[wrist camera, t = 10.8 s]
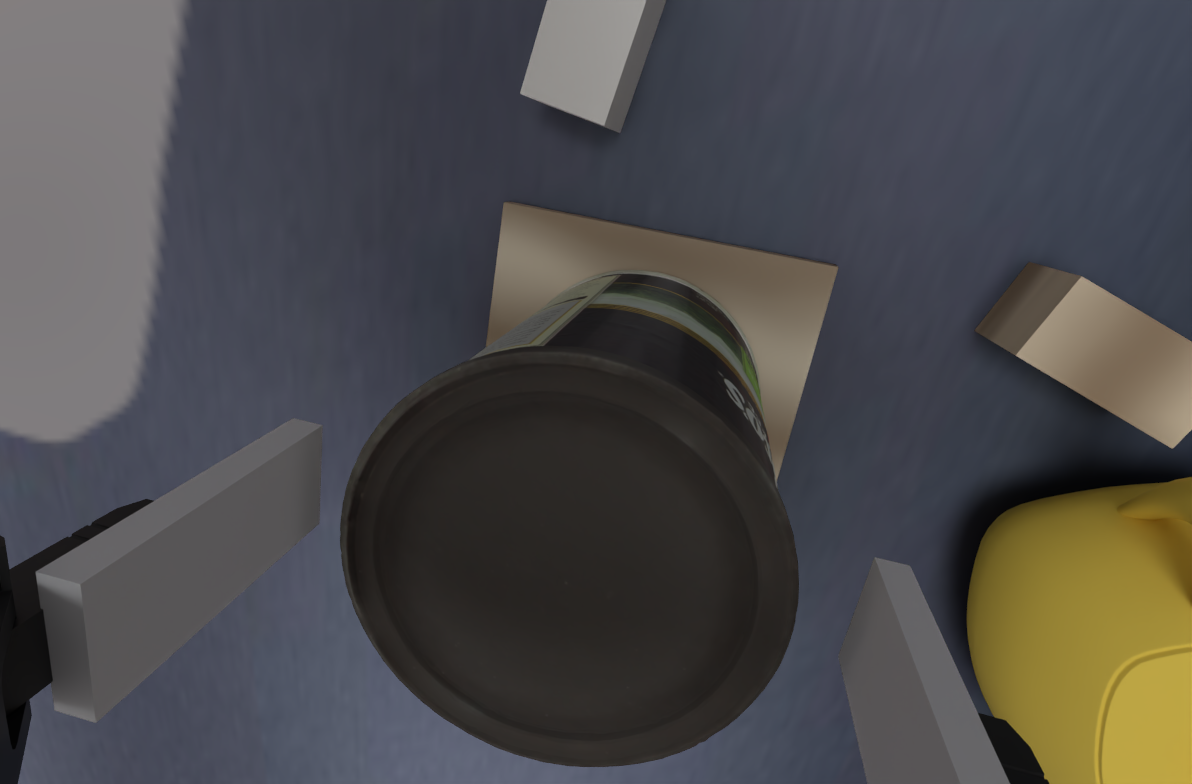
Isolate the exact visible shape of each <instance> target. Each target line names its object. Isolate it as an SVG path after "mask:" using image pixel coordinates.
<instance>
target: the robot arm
mask: <svg viewBox="0 0 1192 784" xmlns="http://www.w3.org/2000/svg"><path fill="white" fill-rule="evenodd" d="M321 455H322V425H319V424H315V423H311V422H307V421H303V420H298V419H294V418H293V419H291V420H289V421H288V422H286V423H284V424H283V425H281V426H279V427H278V428H276V429H274V430H273V431H271V432H269V433H268V434H266V435H264V436H263V437H261V438H259V439H258V440H256V441H254V442H253V443H251V444H249V445H247V446H246V447H244V448H242V449H241V450H239V451H237V452H236V453H234V454H232V455H231V456H229V457H227V458H226V459H224V460H222V461H221V462H219V463H217V464H216V465H214V466H212V467H211V468H209V469H207V470H206V471H204V472H202V473H200V474H199V475H197V476H195V477H194V478H192V479H190V480H189V481H187V482H185V483H184V484H182V485H180V486H179V487H177V488H175V489H174V490H172V491H170V492H169V493H167V494H165V495H164V496H162V497H160V498H159V499H157V500H155V501H152V500H149V499H145V500H142V501H139V502H135V503H132V504H129V505H126V506H123V507H120V508H117V509H115V510H113V511H111V512H109V513H108V514H106V515H104V516H102V517H101V518H99V519H97V520H95V521H94V522H92V524H91V526H88V525H87V526H85V527H83V528H81V529H80V530H78V531H76V532H74V533H73V534H72V536H71V537H66V538H64V539H62V540H60V541H59V542H57V543H55V544H53V545H52V546H50V547H48V548H46V549H45V550H43V551H41V552H39V553H38V554H36V555H34V556H32V557H31V558H29V559H27V560H25V561H24V562H22V563H20V564H18V565H17V566H15V567H13V568H11V569H10V570H9V565H8V558H7V552H6V545H5V539H4V537H2V536H0V784H18V779H19V774H20V770H21V765H22V760H23V755H24V750H25V745H26V740H27V735H28V731H29V726H30V721H31V716H32V715H31V708H30V701H29V699H30V698H32V697H33V696H34V695H35V694H37V693H38V692H39V691H41V690H42V689H43V688H44V687H46V686H47V685H48V684H50V683H51V687H52V694H53V702H54V709H55V711H58V712H61V713H65V714H68V715H71V716H75V717H78V718H81V719H85V720H88V721H91V722H95V723H96V722H97V721H99V720H100V719H101V718H102V717H103V716H104V715H105V714H106V713H108V712H109V711H110V710H111V709H112V708H113V707H114V706H115V705H116V704H118V703H119V702H120V701H121V700H122V699H123V698H124V697H125V696H127V695H128V694H129V693H130V692H131V691H132V690H133V689H134V688H135V687H137V686H138V685H139V684H140V683H141V682H142V681H143V680H144V679H146V678H147V677H148V676H149V675H150V674H151V673H152V672H153V671H155V670H156V669H157V668H158V667H159V666H160V665H161V664H162V663H163V662H165V661H166V660H167V659H168V658H169V657H170V656H171V655H172V654H174V653H175V652H176V651H177V650H178V649H179V648H180V647H181V646H183V645H184V644H185V643H186V642H187V641H188V640H189V639H190V638H191V637H193V636H194V635H195V634H196V633H197V632H198V631H199V630H200V629H202V628H203V627H204V626H205V625H206V624H207V623H208V622H209V621H210V620H212V619H213V618H214V617H215V616H216V615H217V614H218V613H219V612H221V611H222V610H223V609H224V608H225V607H226V606H227V605H228V604H230V603H231V602H232V601H233V600H234V599H235V598H236V597H237V596H238V595H240V594H241V593H242V592H243V591H244V590H245V589H246V588H247V587H249V586H250V585H251V584H252V583H253V582H254V581H255V580H256V579H257V578H259V577H260V576H261V575H262V574H263V573H264V572H265V571H266V570H268V569H269V568H270V567H271V566H272V565H273V564H274V563H275V562H277V561H278V560H279V559H280V558H281V557H282V556H283V555H284V554H285V553H287V552H288V551H289V550H290V549H291V548H292V547H293V546H294V545H296V544H297V543H298V542H299V541H300V540H301V539H302V538H303V537H304V536H306V535H307V534H308V533H309V532H310V531H311V530H312V529H313V528H315V527H316V526H317V525H318V524H319V517H320V486H321ZM838 657H839V662H840V666H841V670H842V675H843V679H844V683H845V688H846V692H847V696H848V701H849V705H850V709H851V714H852V718H853V722H854V727H855V731H856V735H857V740H858V744H859V749H860V753H861V757H862V762H863V766H864V770H865V775H866V779H867V783H868V784H1049V782H1048V780H1046V779H1044V772H1043V770H1042V769H1041V767H1040V765H1039V763H1038V761H1037V759H1036V757H1035V755H1034V753H1033V751H1032V749H1031V747H1030V746H1029V745H1028V744H1027V743H1026V742H1025V741H1024V740H1023V739H1022V737H1021V736H1020V735H1019V734H1018V733H1017V732H1016V731H1015V730H1014V729H1013V728H1012V727H1011V725H1010V724H1009V723H1008V722H1007V721H1006V720H1003V719H999V718H995V717H992V716H988V715H984V714H980V713H977V711H976V709H975V706H974V704H973V702H972V700H971V698H970V696H969V693H968V691H967V689H966V687H965V685H964V682H963V680H962V678H961V676H960V674H959V672H958V669H957V667H956V665H955V663H954V661H953V658H952V656H951V654H950V652H949V650H948V648H947V645H946V643H945V641H944V639H943V637H942V634H941V632H940V630H939V628H938V626H937V624H936V621H935V619H934V617H933V615H932V613H931V611H930V608H929V606H928V604H927V602H926V600H925V597H924V595H923V593H922V591H921V589H920V587H919V584H918V582H917V580H916V578H915V576H914V573H913V571H912V569H911V567H910V566H909V565H905V564H901V563H896V562H892V561H888V560H884V559H880V558H876V557H874V560H873V563H872V565H871V568H870V571H869V574H868V576H867V579H866V582H865V585H864V587H863V590H862V593H861V595H860V598H859V601H858V604H857V606H856V609H855V612H854V615H853V617H852V620H851V623H850V626H849V628H848V631H847V634H846V636H845V639H844V642H843V645H842V647H841V650H840V653H839V656H838Z"/></svg>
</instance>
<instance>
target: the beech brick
mask: <svg viewBox="0 0 1192 784" xmlns="http://www.w3.org/2000/svg"><path fill="white" fill-rule="evenodd" d="M974 331H976V332H977V333H979V334H981V335H982V336H984V337H986V338H987V339H989V340H990V341H992V342H994V343H995V344H997V345H999V346H1000V347H1002V348H1004V349H1005V350H1007V351H1009V352H1010V353H1012V354H1014V355H1015V356H1017V357H1019V358H1020V359H1022V360H1024V361H1025V362H1027V363H1029V364H1031V365H1032V366H1034V367H1036V368H1037V369H1039V370H1041V371H1042V372H1044V373H1046V374H1047V375H1049V376H1051V377H1052V378H1054V379H1056V380H1057V381H1059V382H1061V383H1062V384H1064V385H1066V386H1068V387H1069V388H1071V389H1073V390H1074V391H1076V392H1078V393H1079V394H1081V395H1083V396H1084V397H1086V398H1088V399H1089V400H1091V401H1093V402H1094V403H1096V404H1098V405H1099V406H1101V407H1103V408H1105V409H1106V410H1108V411H1110V412H1111V413H1113V414H1115V415H1116V416H1118V417H1120V418H1121V419H1123V420H1125V421H1126V422H1128V423H1130V424H1131V425H1133V426H1135V427H1137V428H1138V429H1140V430H1142V431H1143V432H1145V433H1147V434H1148V435H1150V436H1152V437H1153V438H1155V439H1157V440H1158V441H1160V442H1162V443H1163V444H1165V445H1167V446H1168V447H1170V448H1172V449H1173V448H1174V447H1175V446H1176V445H1177V444H1178V443H1179V442H1180V441H1181V440H1182V439H1183V438H1184V437H1185V436H1186V435H1187V434H1188V433H1189V432H1190V431H1191V430H1192V342H1191V341H1190V340H1188V339H1186V338H1185V337H1183V336H1181V335H1179V334H1178V333H1176V332H1174V331H1173V330H1171V329H1169V328H1168V327H1166V326H1164V325H1163V324H1161V323H1159V322H1158V321H1156V320H1154V319H1153V318H1151V317H1149V316H1148V315H1146V314H1144V313H1142V312H1141V311H1139V310H1137V309H1136V308H1134V307H1132V306H1131V305H1129V304H1127V303H1126V302H1124V301H1122V300H1121V299H1119V298H1117V297H1116V296H1114V295H1112V294H1111V293H1109V292H1107V291H1106V290H1104V289H1102V288H1100V287H1099V286H1097V285H1095V284H1094V283H1092V282H1090V281H1089V280H1087V279H1085V278H1084V277H1082V276H1079V275H1075V274H1071V273H1068V272H1064V271H1060V270H1057V269H1053V268H1049V267H1046V266H1042V265H1038V264H1035V263H1031V262H1029V263H1028V264H1027V265H1026V266H1025V268H1024V269H1023V270H1022V271H1021V273H1020V274H1019V275H1018V276H1017V278H1016V279H1015V280H1014V281H1013V283H1012V284H1011V285H1010V286H1009V288H1008V289H1007V290H1006V291H1005V293H1004V294H1003V295H1002V296H1001V298H1000V299H999V300H998V301H997V303H996V304H995V305H994V306H993V308H992V309H991V310H990V311H989V313H988V314H987V315H986V316H985V318H984V319H983V320H982V321H981V323H980V324H979V325H978V326H977V328H976V329H975V330H974Z"/></svg>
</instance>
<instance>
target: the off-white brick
mask: <svg viewBox="0 0 1192 784" xmlns="http://www.w3.org/2000/svg"><path fill="white" fill-rule="evenodd" d="M665 3H666V0H547V3H546V6H545V10H544V13H543V17H542V20H541V23H540V27H539V30H538V34H537V37H536V41H535V44H534V47H533V51H532V54H531V58H530V61H529V65H528V68H527V71H526V75H525V78H524V82H523V85H522V88H521V92H520V94H522V95H524V96H526V97H529V98H531V99H533V100H536V101H538V102H540V103H543V104H545V105H548V106H550V107H553V108H555V109H558V110H561V111H563V112H566V113H568V114H571V115H574V116H576V117H579V118H581V119H584V120H587V121H589V122H592V123H595V124H597V125H600V126H602V127H605V128H608V129H610V130H613V131H615V132H618V133H621V130H622V127H623V124H624V121H625V118H626V116H627V113H628V110H629V107H630V104H631V101H632V98H633V95H634V92H635V90H636V87H637V84H638V81H639V78H640V75H641V72H642V69H643V66H644V64H645V61H646V58H647V55H648V52H649V49H650V46H651V43H652V41H653V38H654V35H655V32H656V29H657V26H658V23H659V20H660V17H661V15H662V12H663V9H664V6H665Z"/></svg>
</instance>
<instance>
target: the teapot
mask: <svg viewBox="0 0 1192 784" xmlns="http://www.w3.org/2000/svg"><path fill="white" fill-rule="evenodd" d="M967 634H968V642H969V648H970V654H971V660H972V664H973V668H974V671H975V675H976V678H977V681H978V684H979V686H980V689H981V691H982V694H983V696H984V698H985V700H986V702H987V704H988V706H989V708H990V710H991V712H992V714H993V715H994V717H995V718H999V719H1003V720H1006V721H1007V722H1008V723H1009V724H1010V725H1011V727H1012V728H1013V729H1014V730H1015V731H1016V732H1017V733H1018V734H1019V735H1020V736H1021V737H1022V739H1023V740H1024V741H1025V742H1026V743H1027V744H1028V745H1029V746H1030V747H1031V749H1032V751H1033V753H1034V755H1035V757H1036V759H1037V761H1038V763H1039V765H1040V767H1041V769H1042V770H1043V772H1044V779H1046V780H1048V782H1049V784H1192V477H1188V478H1182V479H1177V480H1173V481H1170V482H1164V483H1148V484H1133V485H1122V486H1112V487H1103V488H1097V489H1091V490H1084V491H1078V492H1072V493H1067V494H1062V495H1057V496H1052V497H1046V498H1041V499H1038V500H1034V501H1031V502H1027V503H1023V504H1020V505H1018V506H1015V507H1013V508H1011V509H1009V510H1006V511H1005V512H1004V513H1002V514H1001V515H1000V516H998V517H997V518H996V520H995V521H994V522H993V523H992V524H991V525H990V526H989V527H988V529H987V531H986V533H985V535H984V536H983V538H982V540H981V543H980V546H979V549H978V552H977V555H976V559H975V563H974V567H973V571H972V576H971V581H970V586H969V594H968V601H967Z"/></svg>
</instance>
